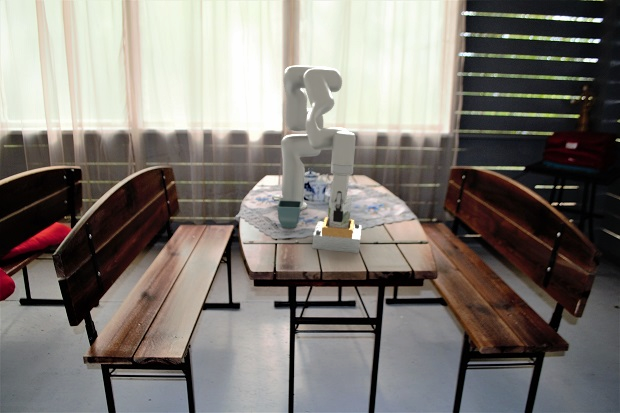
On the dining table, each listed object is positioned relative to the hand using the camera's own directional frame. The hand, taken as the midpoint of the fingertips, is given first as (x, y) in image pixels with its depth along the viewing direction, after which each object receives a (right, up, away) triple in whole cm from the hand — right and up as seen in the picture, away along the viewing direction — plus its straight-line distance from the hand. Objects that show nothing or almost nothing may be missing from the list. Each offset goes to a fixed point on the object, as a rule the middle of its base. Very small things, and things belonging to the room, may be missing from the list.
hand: (338, 217), depth 158 cm
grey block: (+3, +6, +50) cm, 50 cm away
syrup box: (0, -7, +2) cm, 7 cm away
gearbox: (0, -9, +3) cm, 10 cm away
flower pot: (-18, -4, +18) cm, 26 cm away
